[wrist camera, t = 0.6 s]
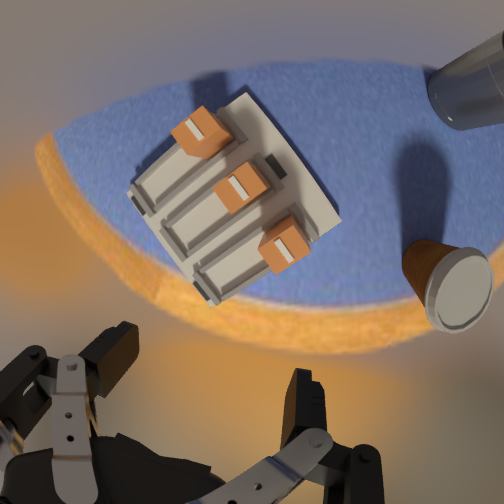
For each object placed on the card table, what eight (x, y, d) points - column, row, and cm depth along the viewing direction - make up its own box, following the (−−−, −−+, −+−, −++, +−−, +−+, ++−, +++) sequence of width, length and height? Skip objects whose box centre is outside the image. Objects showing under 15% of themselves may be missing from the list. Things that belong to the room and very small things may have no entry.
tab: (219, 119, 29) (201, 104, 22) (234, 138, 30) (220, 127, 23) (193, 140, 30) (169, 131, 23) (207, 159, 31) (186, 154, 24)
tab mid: (255, 165, 30) (246, 161, 23) (271, 186, 31) (266, 188, 24) (227, 185, 31) (211, 188, 24) (243, 206, 32) (230, 214, 25)
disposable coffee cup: (386, 294, 34) (420, 341, 23) (395, 225, 32) (441, 249, 20) (440, 293, 33) (483, 332, 21) (451, 229, 30) (504, 251, 19)
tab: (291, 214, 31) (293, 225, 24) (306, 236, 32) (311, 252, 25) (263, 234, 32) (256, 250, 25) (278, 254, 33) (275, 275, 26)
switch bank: (247, 95, 30) (244, 89, 27) (339, 219, 32) (343, 222, 30) (132, 192, 35) (122, 193, 32) (213, 302, 37) (208, 310, 35)
